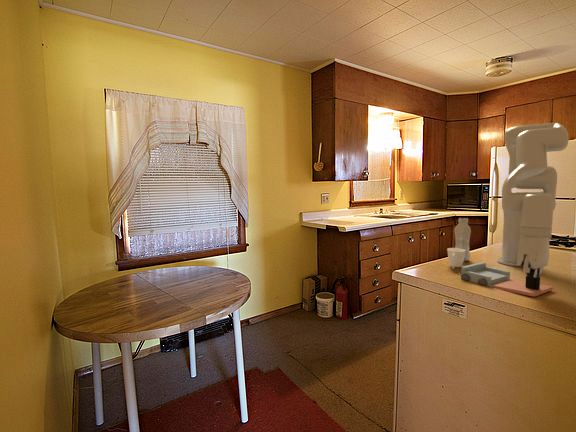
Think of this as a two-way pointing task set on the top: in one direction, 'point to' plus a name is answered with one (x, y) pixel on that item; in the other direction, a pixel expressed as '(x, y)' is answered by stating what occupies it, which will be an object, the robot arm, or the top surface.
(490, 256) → the top surface
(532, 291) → the plate
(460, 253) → the cup
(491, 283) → the flatbed
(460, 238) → the plastic bottle
